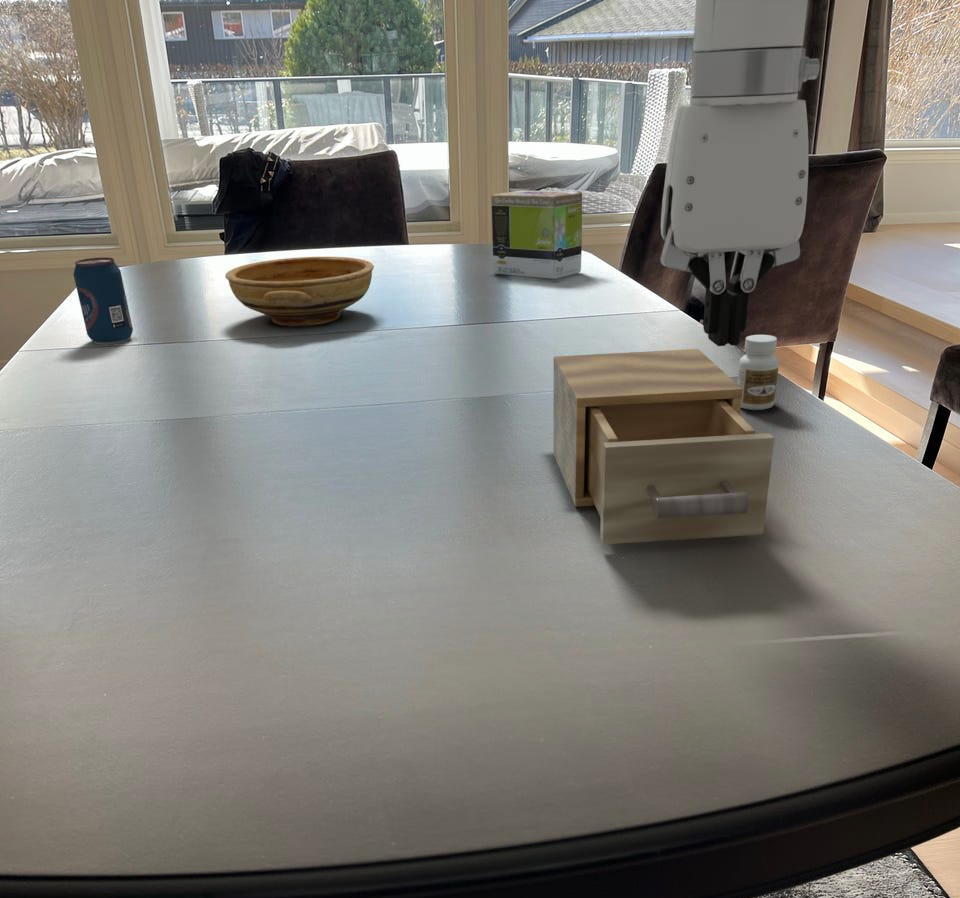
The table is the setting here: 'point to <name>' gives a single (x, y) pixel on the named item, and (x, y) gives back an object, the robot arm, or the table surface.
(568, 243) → the tea box
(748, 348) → the pill bottle
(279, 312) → the ceramic bowl
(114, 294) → the soda can
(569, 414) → the cabinet
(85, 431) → the table surface
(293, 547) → the table surface
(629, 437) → the drawer
